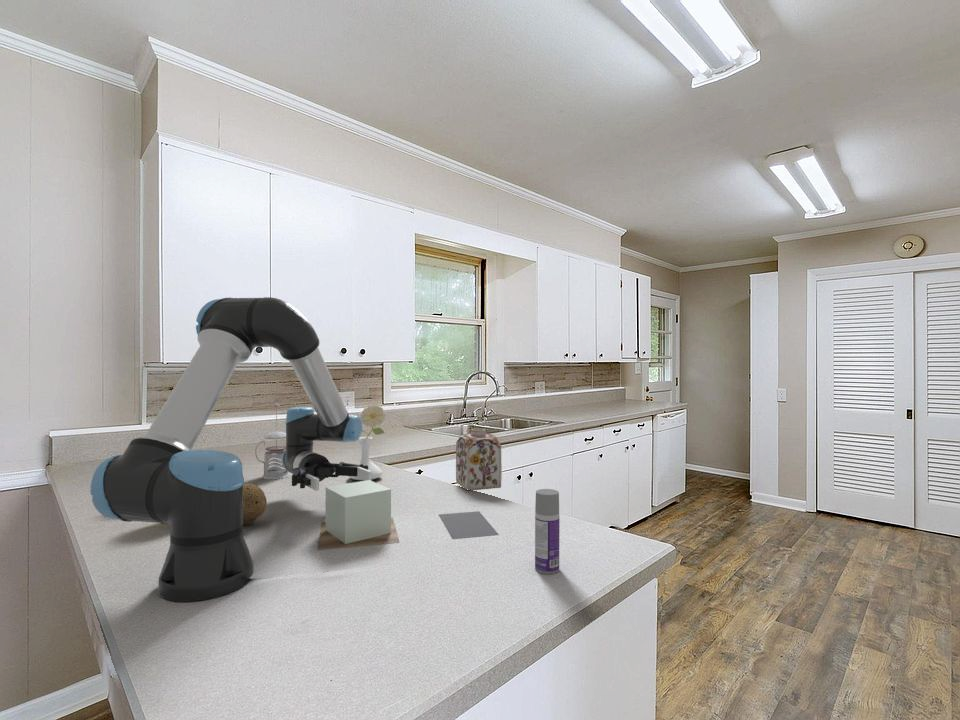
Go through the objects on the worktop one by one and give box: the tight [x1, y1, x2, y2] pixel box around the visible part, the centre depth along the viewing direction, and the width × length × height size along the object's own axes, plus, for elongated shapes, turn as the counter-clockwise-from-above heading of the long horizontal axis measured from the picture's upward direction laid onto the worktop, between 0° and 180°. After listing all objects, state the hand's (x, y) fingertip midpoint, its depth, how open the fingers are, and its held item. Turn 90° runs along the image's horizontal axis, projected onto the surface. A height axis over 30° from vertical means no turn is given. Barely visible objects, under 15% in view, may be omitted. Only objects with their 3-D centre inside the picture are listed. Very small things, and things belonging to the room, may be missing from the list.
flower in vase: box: [348, 404, 386, 481], centre depth 169 cm, size 13×11×25 cm
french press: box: [254, 403, 292, 480], centre depth 173 cm, size 10×12×25 cm
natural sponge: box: [243, 483, 268, 526], centre depth 123 cm, size 9×9×10 cm
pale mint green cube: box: [325, 480, 392, 544], centre depth 116 cm, size 11×11×10 cm
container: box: [534, 488, 560, 575], centre depth 98 cm, size 5×5×15 cm
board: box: [316, 516, 401, 551], centre depth 116 cm, size 18×17×1 cm
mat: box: [438, 510, 500, 540], centre depth 121 cm, size 18×20×1 cm
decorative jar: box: [455, 427, 503, 492], centre depth 161 cm, size 12×12×18 cm
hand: (344, 480), depth 123 cm, fingers open, 13 cm apart
